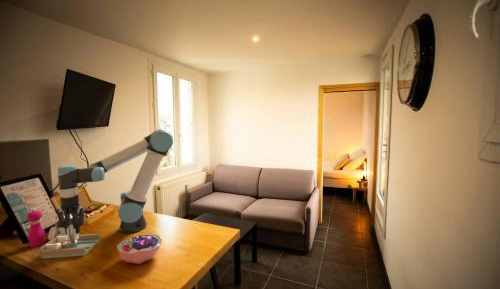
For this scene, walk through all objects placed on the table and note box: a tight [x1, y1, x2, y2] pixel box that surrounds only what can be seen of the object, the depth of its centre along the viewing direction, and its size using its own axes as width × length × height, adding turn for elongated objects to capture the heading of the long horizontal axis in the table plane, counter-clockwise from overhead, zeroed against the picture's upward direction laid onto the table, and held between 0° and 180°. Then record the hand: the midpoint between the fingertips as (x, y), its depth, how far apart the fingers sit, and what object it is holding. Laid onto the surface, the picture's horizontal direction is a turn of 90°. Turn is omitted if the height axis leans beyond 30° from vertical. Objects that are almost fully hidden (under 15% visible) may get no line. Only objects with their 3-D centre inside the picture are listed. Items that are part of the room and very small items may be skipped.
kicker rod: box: [60, 219, 80, 249], centre depth 121 cm, size 7×4×15 cm, turn 97°
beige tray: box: [38, 233, 101, 260], centre depth 122 cm, size 20×15×5 cm
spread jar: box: [47, 214, 73, 241], centre depth 134 cm, size 12×11×12 cm
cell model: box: [116, 233, 163, 265], centre depth 111 cm, size 17×20×11 cm
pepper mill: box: [26, 207, 46, 248], centre depth 126 cm, size 7×7×20 cm
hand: (73, 239), depth 121 cm, fingers closed on kicker rod, 2 cm apart
